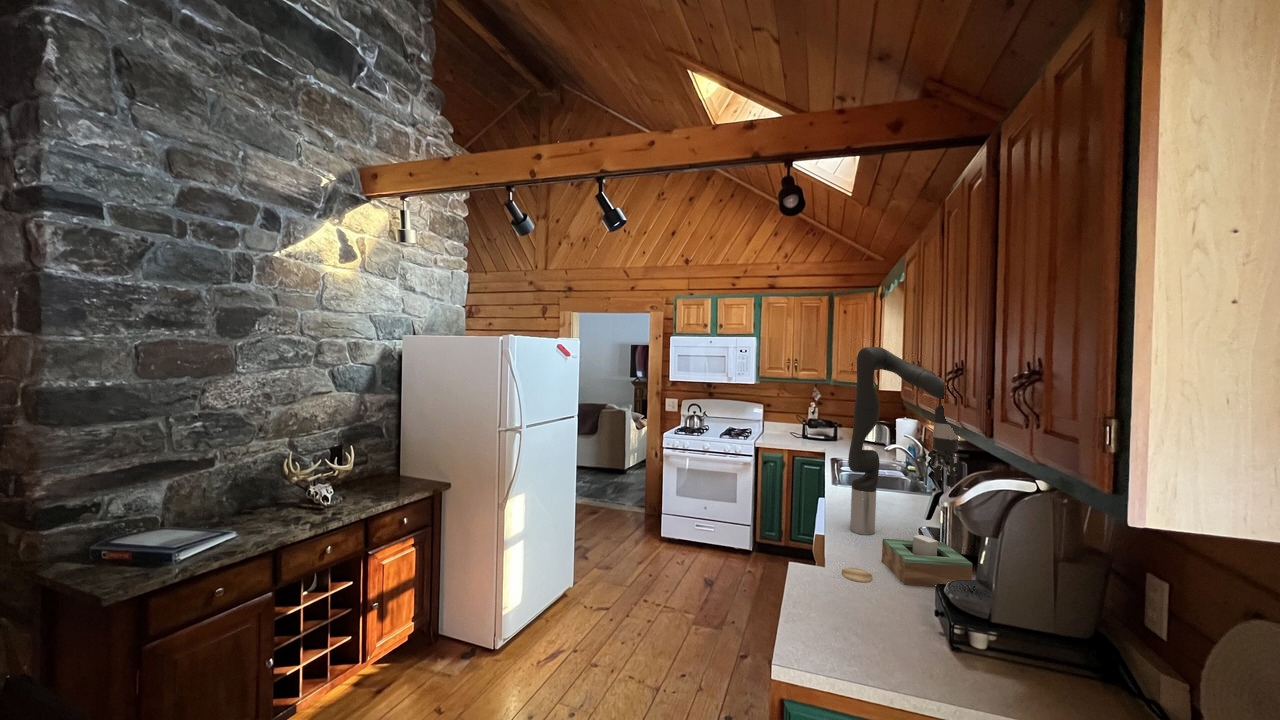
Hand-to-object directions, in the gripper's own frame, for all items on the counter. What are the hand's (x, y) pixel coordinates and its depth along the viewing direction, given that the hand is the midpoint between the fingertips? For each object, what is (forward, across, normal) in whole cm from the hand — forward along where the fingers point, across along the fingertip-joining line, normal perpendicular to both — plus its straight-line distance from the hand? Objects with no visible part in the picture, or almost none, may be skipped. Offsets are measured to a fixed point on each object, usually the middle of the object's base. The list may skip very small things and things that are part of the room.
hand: (943, 483), depth 176 cm
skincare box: (+28, +10, -10) cm, 32 cm away
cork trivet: (+28, +15, -33) cm, 46 cm away
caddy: (+28, +10, -10) cm, 31 cm away
